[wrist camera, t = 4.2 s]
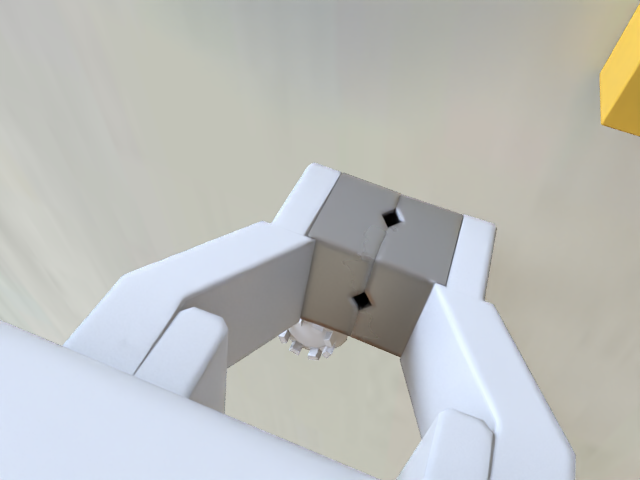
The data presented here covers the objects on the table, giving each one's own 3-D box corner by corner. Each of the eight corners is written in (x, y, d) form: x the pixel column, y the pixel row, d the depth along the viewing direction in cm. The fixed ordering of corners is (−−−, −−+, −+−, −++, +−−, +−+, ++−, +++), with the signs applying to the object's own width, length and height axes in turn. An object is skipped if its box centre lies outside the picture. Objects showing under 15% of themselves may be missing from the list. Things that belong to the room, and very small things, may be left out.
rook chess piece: (418, 231, 28) (376, 357, 22) (362, 266, 31) (314, 384, 25) (354, 173, 27) (293, 290, 21) (303, 215, 30) (238, 327, 24)
